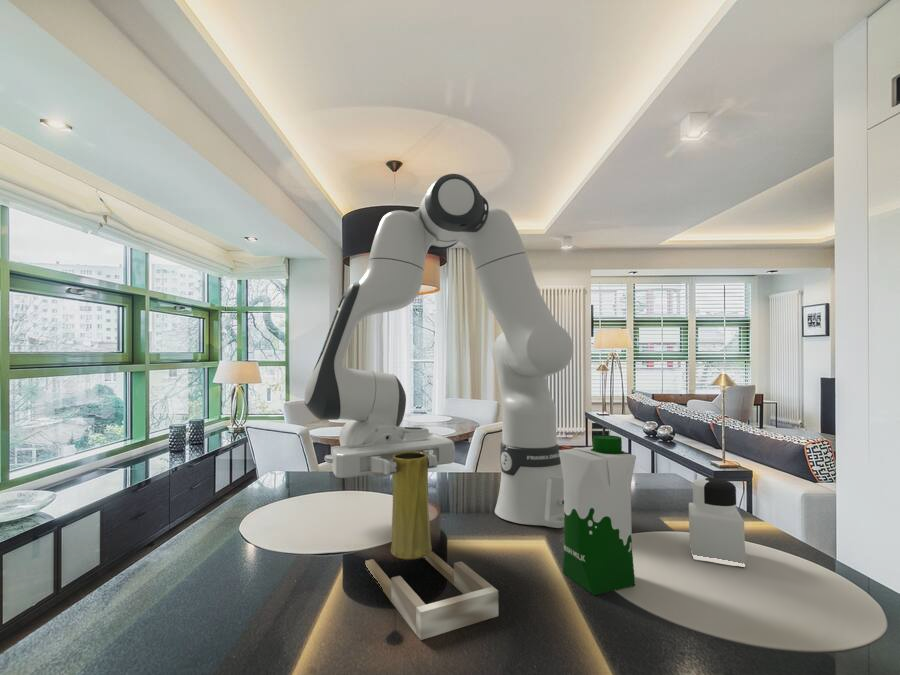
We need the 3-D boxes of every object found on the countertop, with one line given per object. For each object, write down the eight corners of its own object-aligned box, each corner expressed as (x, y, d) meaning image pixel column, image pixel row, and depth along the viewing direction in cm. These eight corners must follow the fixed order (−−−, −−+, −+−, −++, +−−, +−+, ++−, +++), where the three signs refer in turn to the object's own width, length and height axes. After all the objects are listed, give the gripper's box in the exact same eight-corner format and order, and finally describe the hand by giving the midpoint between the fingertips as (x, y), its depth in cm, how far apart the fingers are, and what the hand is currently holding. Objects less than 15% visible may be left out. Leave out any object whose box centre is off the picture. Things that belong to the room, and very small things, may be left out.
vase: (423, 562, 64) (421, 460, 64) (383, 557, 66) (382, 458, 66) (437, 544, 70) (435, 451, 70) (400, 540, 71) (399, 449, 72)
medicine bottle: (738, 551, 74) (736, 477, 75) (746, 569, 68) (743, 488, 68) (689, 543, 77) (687, 472, 78) (692, 560, 71) (690, 482, 71)
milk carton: (645, 588, 62) (642, 440, 63) (592, 600, 59) (589, 445, 60) (601, 561, 70) (599, 431, 71) (552, 571, 67) (551, 435, 68)
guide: (427, 553, 73) (428, 534, 73) (498, 615, 55) (498, 590, 55) (365, 567, 68) (365, 547, 68) (420, 640, 50) (420, 612, 50)
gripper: (321, 437, 74) (343, 451, 62) (433, 426, 84) (470, 437, 72) (321, 475, 74) (343, 498, 62) (433, 460, 84) (471, 477, 72)
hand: (413, 465), depth 67 cm, fingers closed on vase, 5 cm apart
